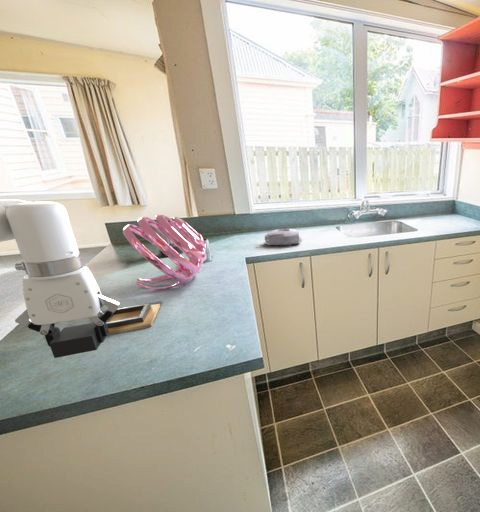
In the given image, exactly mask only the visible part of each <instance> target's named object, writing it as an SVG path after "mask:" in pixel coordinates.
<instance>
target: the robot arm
mask: <svg viewBox="0 0 480 512" xmlns="http://www.w3.org/2000/svg"><path fill="white" fill-rule="evenodd" d="M12 240H13V241H14V240H15V242H16V245H17V248H18V251H19V253H20V257H21V259H22V261H21V262H17V263H15V264H14V268H15V270H16V271H24V272H25V274H26V275H24V276H23V277H22V292H23V299H24V304H25V308H26V309H25V310H24V311H23V312H22V313H21V314H20V315H19V316H17V317H16V318H15V319H14V322H15V323H16V324H19V325H21V326H24V327H27V329H30V330H32V331H35V332H37V333H39V335H40V336H44V339H45V341H46V344H47V346H48V347H50V345H49V343H50V342H51V341H52V340H53V339H54V338H55V337H56V336H57V335H58V334H59V332H60V331H61V329H60V328H59V327H58V326H56V324H59V323H60V324H61V323H66V322H72V321H80V320H86V319H89V320H90V321H91V322H92V323H95V324H96V325H95V327H94V331H95V333H96V336H97V339H98V342H99V343H101V344H102V343H104V342H105V340H106V339H107V338H108V337H109V336H110V335H109V330H108V327H107V324H106V321H107V320H108V319H109V318H110V317H111V315H112V314H113V313H114V312H115V311H116V310H117V309H118V308H120V306H121V302H119V301H116V300H114V299H112V298H111V297H110V298H109V297H108V296H105V295H103V294H102V292H101V291H102V290H101V289H100V286H99V284H98V282H97V280H96V277H95V276H94V275H93V273H92V271H91V270H90V268H89V267H88V266H84V263H83V260H82V256H81V253H80V249H79V247H78V246H79V245H78V243H77V240H76V237H75V233H74V229H73V227H72V224H71V221H70V217H69V213H68V211H67V208H66V207H65V205H63V204H61V203H59V202H55V201H34V202H33V201H27V200H22V199H11V198H10V199H8V198H7V199H6V198H5V199H0V243H2V242H8V241H12ZM104 307H107V308H108V309H107V310H106V311H105V312H103V311H102V310H101V309H103V308H104ZM50 348H51V347H50Z"/></svg>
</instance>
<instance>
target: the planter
mask: <svg viewBox="0 0 480 512" xmlns="http://www.w3.org/2000/svg"><path fill="white" fill-rule="evenodd" d="M203 240H204V241H205V243H206V247H205V252H206V254H207V257H206V260H205V261H204V262H203V263H208V262H207V261H209V262H212V260H213V259H212V253H211V248H210V242H209V239H208V238H203ZM198 244H199V243H198ZM199 245H200V244H199Z"/></svg>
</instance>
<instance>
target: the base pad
mask: <svg viewBox="0 0 480 512" xmlns="http://www.w3.org/2000/svg"><path fill="white" fill-rule="evenodd" d="M160 308H161V303H155V304H150V303H143V304H137V305H130V306H125V307H118V309H117V310H116V311H115V312H114V313H113V314H112V315H111V317H110V318H109V319H108V320H107V321H106V324H107V327H108V330H109V335H108V336H110V335H114V334H120V333H126V332H130V331H131V332H132V331H134V330H142V329H145V328H152V326H153V324H154V322H155V319H156V317H157V316H158V313H159V311H160Z"/></svg>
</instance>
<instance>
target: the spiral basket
mask: <svg viewBox="0 0 480 512" xmlns="http://www.w3.org/2000/svg"><path fill="white" fill-rule="evenodd" d="M155 219H156V220H154V219H153V218H151V217H149V216H141V217H140V218H138V219H137V224H138V225H136V224H133V223H129V224H127V225H125V226H124V227H123V229H122V234H123V236H124V237H125V239H126V240H127V242H128V243H129V244H130V245H131V246H132V248H134V250H136V252H138V253H139V254H140V255H141V256H142V257H143V258H144V259H145V260H146V261H147V262H149V263H150V264H151V265H153V266H154V267H155V268H156V269H158V270H159V271H160V272H162V273H163V274H165V275H163V276H159V277H154V278H136V281H135V284H136V285H138V286H139V287H141V288H144V289H149V290H154V291H155V290H157V291H158V290H159V291H161V290H162V291H163V290H169V289H175V288H177V287H180V286H182V285H184V284H187V283H190V282H191V281H192V280H193V279H194V277H195V276H196V275H198V274H199V273H201V271H202V269H203V264H204V263H205V262H204V261H205V260H206V257H207V254H206V252H205V247H206V243H205V241H204V240H203V239H204V238H203V236H202V234H201V233H200V232H197V231H196V230H195V229H194V228H193V227H192V226H191V225H189V224H188V223H187V221H185V220H184V219H182V218H180V217H177V216H173V219H171V218H170V217H168V216H167V215H164V214H155ZM154 228H155V229H156V230H158V231H159V232H160V233H162V234H163V235H164V236H166V237H167V238H168V239H169V240H170V241H172V242H173V243H174V244H175V245H176V246H177V247H178V248H179V249H180V250H181V251H182V253H183V254H184V255H186V257H187V258H188V259H187V258H185V257H184V256H183V255H181V254H179V253H178V252H177V251H175V250H174V249H173V248H172V247H171V246H170V245H168V244H167V243H166V242H165V241H164V240H163V239H162V238H161V237H160V236H159V235H158V234H157V233H156V232H155V229H154ZM174 228H175V229H176V230H177V231H176V230H175V229H174ZM134 233H135V234H136V235H138V236H139V237H142V238H143V239H145V240H146V241H148V243H150V244H152V245H153V246H154V247H156V248H157V249H158V250H159V251H160V250H161V251H162V252H163V253H164V254H165V255H166V256H168V258H169V260H170V261H172V262H173V264H175V266H176V267H177V269H176V270H175V269H172V268H171V267H170V266H169V265H167V264H166V263H164V262H163V261H162V260H161V259H159V258H158V257H157V256H156V255H155V254H153V253H152V252H151V251H150V250H149V249H148V248H147V247H146V246H145V245H144V244H143V243H142V242H141V240H139V239H138V238H137V237H136V235H135V234H134ZM183 236H184V237H185V238H186V239H187V240H188V241H189V242H188V241H187V240H185V239H184V238H183ZM198 243H199V244H200V245H199V244H198ZM169 279H173V280H175V281H177V282H176V283H175V284H171V285H167V286H150V285H147V284H144V283H155V282H160V281H161V282H162V281H167V280H169ZM142 282H144V283H142Z"/></svg>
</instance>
